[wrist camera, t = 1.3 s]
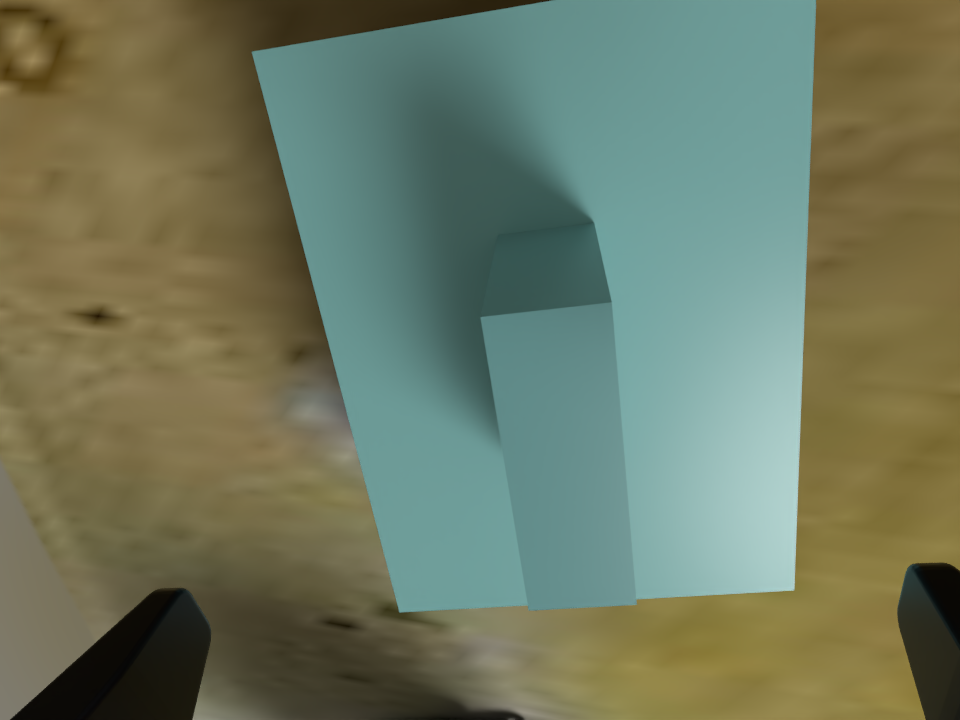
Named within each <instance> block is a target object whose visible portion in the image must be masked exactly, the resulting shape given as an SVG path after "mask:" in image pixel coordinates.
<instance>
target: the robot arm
mask: <svg viewBox="0 0 960 720" xmlns="http://www.w3.org/2000/svg"><path fill="white" fill-rule="evenodd" d="M897 615H898V623H899V628H900V632H901V635H902V639H903V642H904V646H905V649H906V653H907V656H908V660H909V663H910V667H911V670H912V673H913V677H914V680H915V684H916V687H917V691H918V694H919V698H920V701H921V705H922V708H923V712H924V715H925V719H926V720H960V571H959V570H958V569H957V568H955V567H954V566H952V565H950V564H947V563H916V564H912V565H910V566H909V567H908V568H907V571H906V574H905V578H904V582H903V587H902V591H901V595H900V600H899V604H898V611H897ZM210 641H211V628H210V624H209V622H208V620H207V619H206V617H205V615H204V614H203V612H202V610H201V609H200V607H199V606H198V604H197V602H196V601H195V599H194V598H193V596H192V594H191V593H190V592H189V591H188V590H186V589H184V588H162V589H158V590H155V591H154V592H152V593H151V594H149V595H148V596H147V597H146V598H145V599H144V600H143V601H141V602H140V603H139V604H138V605H137V606H136V607H135V608H134V609H133V610H131V611H130V612H129V613H128V614H127V615H126V616H125V617H124V618H123V619H121V620H120V621H119V622H118V623H117V624H116V625H115V626H114V627H113V628H111V629H110V630H109V631H108V632H107V633H106V634H105V635H104V636H103V637H101V638H100V639H99V640H98V641H97V642H96V643H95V644H94V645H93V646H91V647H90V648H89V649H88V650H87V651H86V652H85V653H84V654H83V655H82V656H80V657H79V658H78V659H77V660H76V661H75V662H74V663H73V664H72V665H70V666H69V667H68V668H67V669H66V670H65V671H64V672H63V673H61V674H60V675H59V676H58V677H57V678H56V679H55V680H54V681H53V682H51V683H50V684H49V685H48V686H47V687H46V688H45V689H44V690H43V691H42V692H40V693H39V694H38V695H37V696H36V697H35V698H34V699H33V700H31V702H29V703H28V704H27V705H26V706H25V707H24V708H23V709H21V710H20V711H19V712H18V713H17V714H16V715H15V716H14V717H13V718H12V719H10V720H192V719H193V715H194V710H195V706H196V702H197V697H198V693H199V689H200V685H201V680H202V676H203V672H204V668H205V663H206V659H207V655H208V650H209V646H210Z"/></svg>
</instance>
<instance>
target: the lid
mask: <svg viewBox="0 0 960 720" xmlns="http://www.w3.org/2000/svg"><path fill="white" fill-rule="evenodd" d="M815 14H816V0H552V1H546V2H540V3H534V4H529V5H523V6H517V7H511V8H505V9H499V10H493V11H488V12H482V13H476V14H470V15H464V16H458V17H452V18H446V19H441V20H435V21H429V22H423V23H417V24H411V25H405V26H400V27H394V28H388V29H382V30H376V31H370V32H364V33H358V34H353V35H347V36H341V37H335V38H329V39H323V40H317V41H312V42H306V43H300V44H294V45H288V46H282V47H276V48H270V49H265V50H259V51H253V52H252V55H253V59H254V62H255V66H256V70H257V74H258V78H259V81H260V85H261V89H262V93H263V97H264V100H265V104H266V108H267V112H268V116H269V119H270V123H271V127H272V131H273V134H274V138H275V142H276V146H277V150H278V153H279V157H280V161H281V165H282V169H283V172H284V176H285V180H286V184H287V188H288V191H289V195H290V199H291V203H292V207H293V210H294V214H295V218H296V222H297V226H298V229H299V233H300V237H301V241H302V244H303V248H304V252H305V256H306V260H307V263H308V267H309V271H310V275H311V279H312V282H313V286H314V290H315V294H316V298H317V301H318V305H319V309H320V313H321V317H322V320H323V324H324V328H325V332H326V336H327V339H328V343H329V347H330V351H331V355H332V358H333V362H334V366H335V370H336V373H337V377H338V381H339V385H340V389H341V392H342V396H343V400H344V404H345V408H346V411H347V415H348V419H349V423H350V427H351V430H352V434H353V438H354V442H355V446H356V449H357V453H358V457H359V461H360V465H361V468H362V472H363V476H364V480H365V483H366V487H367V491H368V495H369V499H370V502H371V506H372V510H373V514H374V518H375V521H376V525H377V529H378V533H379V537H380V540H381V544H382V548H383V552H384V556H385V559H386V563H387V567H388V571H389V575H390V578H391V582H392V586H393V590H394V593H395V597H396V601H397V605H398V609H399V612H416V611H433V610H451V609H469V608H487V607H505V606H523V605H528V609H529V611H530V610H549V609H567V608H585V607H604V606H622V605H637V603H636V599H649V598H667V597H685V596H703V595H721V594H738V593H756V592H774V591H792V590H794V582H795V555H796V528H797V501H798V474H799V447H800V420H801V393H802V366H803V339H804V312H805V285H806V258H807V231H808V204H809V177H810V150H811V123H812V96H813V69H814V42H815Z"/></svg>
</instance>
